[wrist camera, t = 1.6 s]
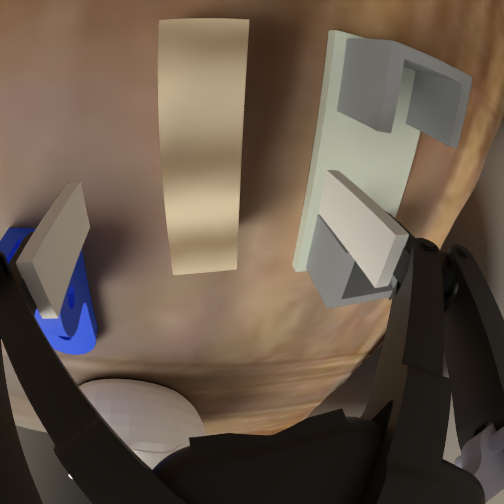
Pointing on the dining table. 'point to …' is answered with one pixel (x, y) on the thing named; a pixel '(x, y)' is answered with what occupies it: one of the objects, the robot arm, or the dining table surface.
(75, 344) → the bracket
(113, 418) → the pot
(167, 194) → the tan long curved block
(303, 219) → the bracket board
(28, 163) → the dining table surface
